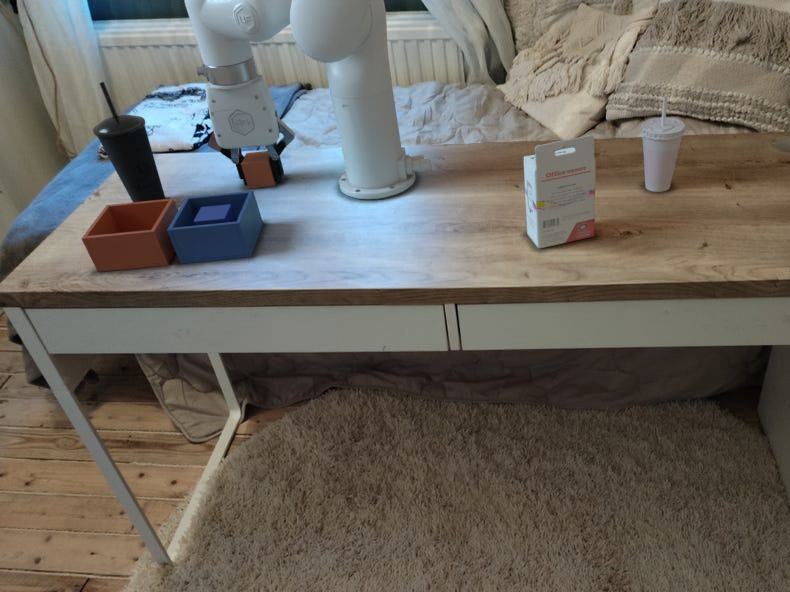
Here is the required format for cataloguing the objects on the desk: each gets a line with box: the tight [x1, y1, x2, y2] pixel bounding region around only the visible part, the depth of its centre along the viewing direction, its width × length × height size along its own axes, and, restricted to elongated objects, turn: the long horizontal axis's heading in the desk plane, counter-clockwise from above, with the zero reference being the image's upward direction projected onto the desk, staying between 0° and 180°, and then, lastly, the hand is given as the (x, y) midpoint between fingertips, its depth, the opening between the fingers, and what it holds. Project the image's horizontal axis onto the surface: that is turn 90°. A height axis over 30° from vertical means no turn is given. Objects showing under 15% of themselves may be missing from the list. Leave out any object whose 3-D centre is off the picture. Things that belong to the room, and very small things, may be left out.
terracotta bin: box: [81, 198, 179, 273], centre depth 104 cm, size 10×10×6 cm
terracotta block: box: [241, 150, 277, 189], centre depth 120 cm, size 4×4×4 cm
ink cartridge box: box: [523, 134, 597, 249], centre depth 95 cm, size 9×5×15 cm, turn 106°
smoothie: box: [639, 95, 686, 193], centre depth 105 cm, size 6×6×14 cm
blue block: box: [194, 204, 237, 226], centre depth 104 cm, size 4×4×4 cm
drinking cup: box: [92, 81, 167, 202], centre depth 111 cm, size 8×8×20 cm
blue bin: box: [167, 190, 264, 265], centre depth 104 cm, size 10×10×6 cm
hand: (263, 179), depth 121 cm, fingers closed on terracotta block, 4 cm apart
